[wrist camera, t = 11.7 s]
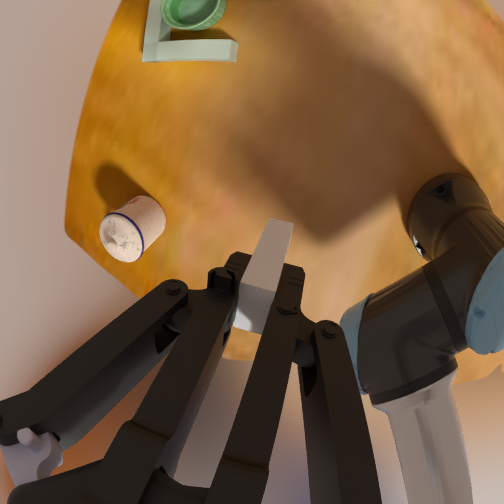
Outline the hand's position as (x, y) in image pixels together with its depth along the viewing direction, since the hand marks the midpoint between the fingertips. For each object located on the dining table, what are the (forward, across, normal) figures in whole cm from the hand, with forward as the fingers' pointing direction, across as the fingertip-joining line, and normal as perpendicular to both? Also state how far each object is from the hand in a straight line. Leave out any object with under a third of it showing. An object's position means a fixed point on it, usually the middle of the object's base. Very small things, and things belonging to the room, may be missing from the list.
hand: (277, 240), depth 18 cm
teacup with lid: (+26, +26, +18) cm, 41 cm away
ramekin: (+26, +19, -21) cm, 38 cm away
